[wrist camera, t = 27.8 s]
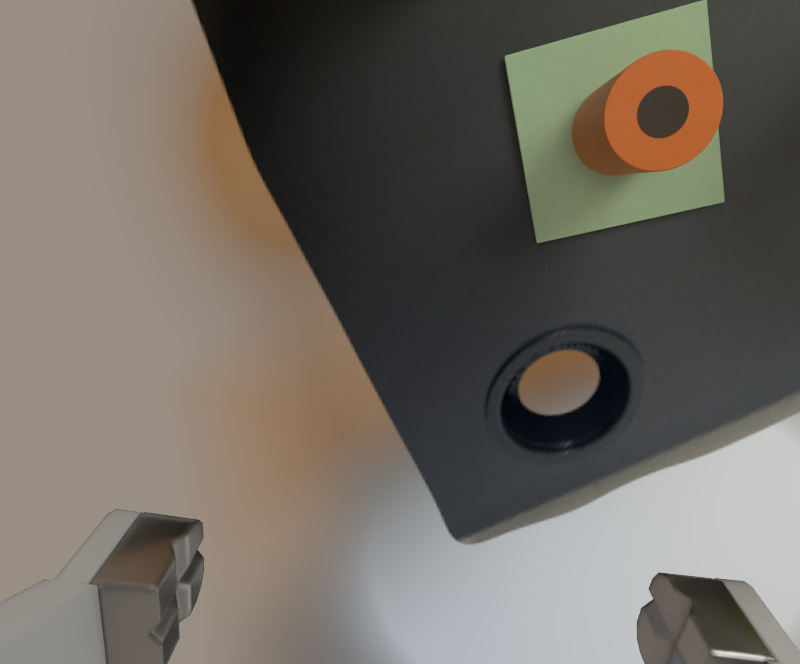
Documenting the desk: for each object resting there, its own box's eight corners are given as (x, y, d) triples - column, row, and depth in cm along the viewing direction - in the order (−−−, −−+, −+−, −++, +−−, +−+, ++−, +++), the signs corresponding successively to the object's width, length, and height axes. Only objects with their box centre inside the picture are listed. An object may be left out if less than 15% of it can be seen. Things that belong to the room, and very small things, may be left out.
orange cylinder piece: (579, 184, 35) (612, 183, 27) (565, 95, 34) (596, 67, 26) (668, 163, 34) (729, 155, 26) (658, 70, 33) (718, 34, 25)
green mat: (536, 242, 37) (536, 243, 36) (503, 57, 34) (504, 55, 33) (722, 202, 35) (725, 202, 34) (704, 1, 32) (706, -1, 32)
